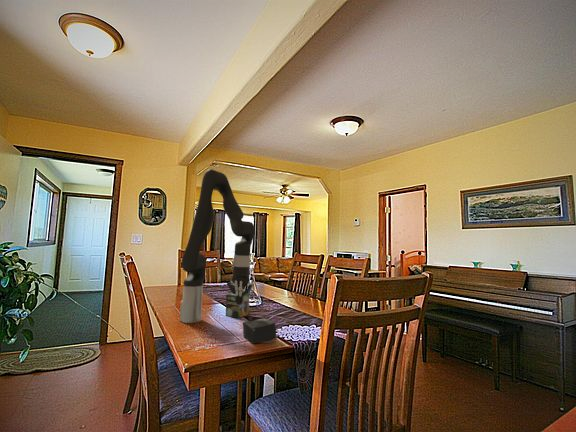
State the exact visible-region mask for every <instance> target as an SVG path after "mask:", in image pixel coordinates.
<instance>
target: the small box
mask: <svg viewBox="0 0 576 432" xmlns="http://www.w3.org/2000/svg"><path fill="white" fill-rule="evenodd" d="M242 333H243V334H242V335H243V337H244V339H246V340H247V341H248V342H250V343H251V344H257V343H262V341H266V340H270V339H274V340H275V339H277V338H276V334H277V331H276V322H273V321H271V320H269V319H267V318H266V317H263V318H259V319H258V318H257V319H253V320H252V319H251V320H247V321H242Z"/></svg>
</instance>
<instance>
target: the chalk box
mask: <svg viewBox="0 0 576 432" xmlns="http://www.w3.org/2000/svg"><path fill="white" fill-rule="evenodd" d="M249 315H250V292H249V293H248V294H247V295H244V296H243V303H242V304H241V305H238V304H237V303H236V295H235V294H233V293H232V292H230V293H227V294H226V296H225V316H227V317H231V318H234V319H235V318H236V319H240V318H243V317H246V316H249Z"/></svg>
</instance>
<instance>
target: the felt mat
mask: <svg viewBox="0 0 576 432" xmlns="http://www.w3.org/2000/svg"><path fill="white" fill-rule="evenodd" d="M279 336H280V334H278V333H276V338H275V339H277V338H278V337H279ZM275 339H270V340H266V341H262V342H261V343H262V344H263V343H264V344H270V343H272V342H273V341H274V340H275Z"/></svg>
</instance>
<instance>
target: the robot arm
mask: <svg viewBox="0 0 576 432" xmlns="http://www.w3.org/2000/svg"><path fill="white" fill-rule="evenodd" d="M214 191H217V192H218V193H219V194H220V195H221V197H222V202H223V203H222V206H223V210H224V212H225V214H226V215H227V217H228V219H229V224H230V228H231V231H232V233H233V234H234V235H235V236H236V237H241V238H240V241H237V242H236V243H235V244H234V254H233V255H234V256H233V259H232V260H233V262H232V278H231V279H230V281H228V282H227V283H226V284H227V287H228V288H229V290H230V291H231V292H230V293H233V294H235V295H236V303H237V304H238V305H241V304H242V303H243V296H244V295H247V294H248V293H249V294H250V291H252V289H253V288H254V287H255V284H253V283H252V282H251V281H250V269H251V246H252V243H253V240H254V237H255V232H256V227H255V225H254V223H252V222H251V221H245V220H244V221H243V220H242V219H244V212H243V210H242V208H241V207H240V205H239V203H238V201H237V200H236V197H235V195H234V193H233V190H232V188H231V185H230V182H229V179H228V177H227V175H226V174H224V173H223V172H221V171H217V170H215V169H212V168H210V169H207V170H206V171H205V172H204V174H203V177H202V181H201V186H200V195H199V199H198V203H197V207H196V211H195V215H194V218H193V222H192V227H191V230H190V235H189V239H188V242H187V245H186V247H185V250H184V253H183V255H182V257H181V267H182V269H183V271H184V272H187V273H188V275H187V276H186V277H185V278H184V280H183V288H182V289H183V290H182V300H181V301H180V313H179V321H180V322H182V323H185V324H195V323H200V322H201V321H202V315H203V314H202V311H203V309H202V308H203V289H204V287H203V286H204V281H205V277H206V271H207V270H206V269H207V259H206V257H205V255H204V254H203V253H201V252H200V251H201V248H202V245H203V244H204V242H205V241H206V239H207V237H208V236H209V234H210V233H211V232H212V231H211V230H212V228H213V224H214V221H215V212H214V211H215V209H214V207H213V201H212V197H213V193H214ZM246 287H247V288H246Z"/></svg>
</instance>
